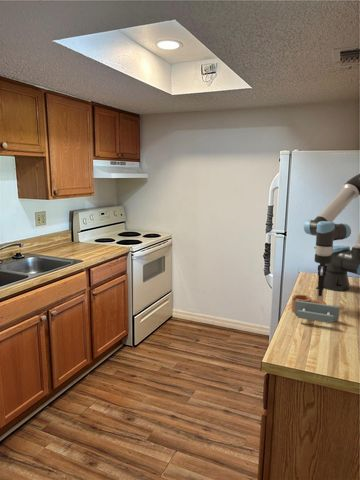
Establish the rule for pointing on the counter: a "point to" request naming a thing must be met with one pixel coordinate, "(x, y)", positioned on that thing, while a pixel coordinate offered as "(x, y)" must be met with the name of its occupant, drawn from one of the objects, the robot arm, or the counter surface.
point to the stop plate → (316, 311)
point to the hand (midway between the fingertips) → (319, 301)
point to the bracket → (303, 298)
